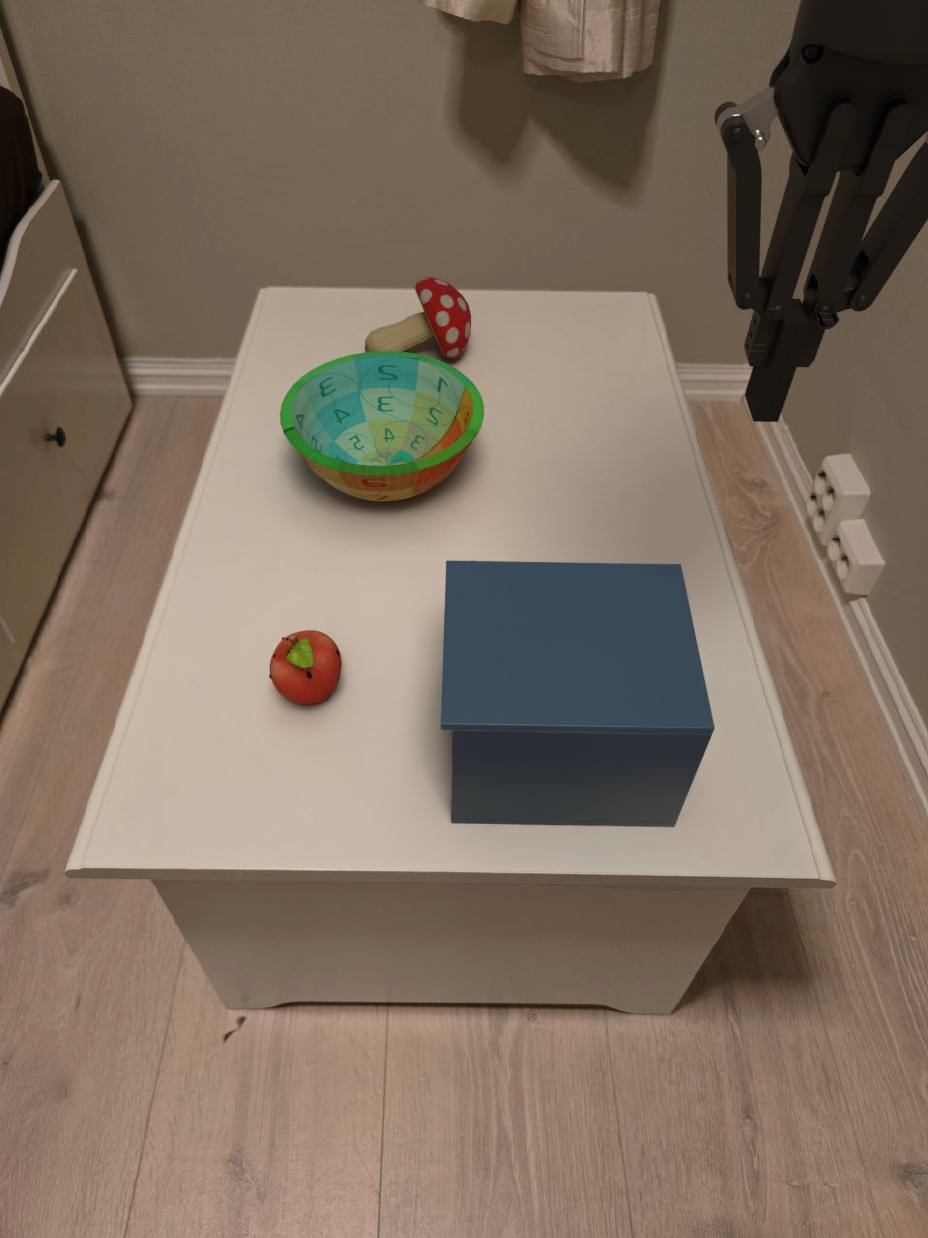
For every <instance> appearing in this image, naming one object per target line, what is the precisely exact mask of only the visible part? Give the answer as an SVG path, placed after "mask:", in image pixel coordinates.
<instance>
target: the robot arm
mask: <svg viewBox="0 0 928 1238" xmlns="http://www.w3.org/2000/svg"><path fill="white" fill-rule="evenodd" d="M776 117H778V119H779V122H780V125H781V126H782V130H783V131H784V135H785V136H786V139H787V142H788V144H789V147H790V149H791V151H792V152H791V155H790V159H789V164H788V178H787V181H786V185H785V189H784V192H783V196H782V199H781V201H780V202H781V203H780V206H779V210H778V214H777V217H776V220H775V223H774V226H773V230H772V234H771V238H770V241H769V245H768V248H767V250H766V251H767V252H766V254H765V259H764V261H763V265H762V269H761V273H760V268H761V267H760V265H761V264H760V263H761V262H760V261H761V229H762V228H761V227H762V226H761V225H762V187H763V186H762V185H763V183H762V182H763V176H762V164H761V158H760V155H759V152H760V151H763V150H764V149H765V148H766V146H767V144H768V143H769V141H770V137H771V130H770V128H771V124H772V123H773V120H774V119H775V118H776ZM713 118H714V124H715V126H716V128H717V131H718V133H719V136H720V138H721V142H722V143H723V147H724V148H725V151H726V187H727V188H726V205H727V206H726V210H727V211H726V216H727V217H726V220H727V221H726V225H727V227H726V228H727V231H726V232H727V233H726V237H727V242H726V243H727V244H726V245H727V247H726V249H727V251H726V252H727V259H726V260H727V261H726V262H727V283H728V286H729V288H730V289H729V290H730V291H731V294H732V297H733V299H734V303H735V305H736V307H737V308H738V309H739V310H742V311H748V310H753V312H752V316H751V320H750V323H749V325H748V328H747V329H748V330H747V333H746V337H745V341H744V343H743V347H744V354H745V357H746V359H747V363H748V366H749V367H750V368H751V372H750V375H749V378H748V382H747V386H746V389H745V392H744V397H745V401H746V404H747V406H748V410H749V412H750V415H751V419H752V422H755V423H756V422H759V423H762V422H763V423H779V421H780V417H781V415H782V412H783V409H784V405H785V403H786V400H787V397H788V394H789V391H790V388H791V385H792V383H793V379H794V377H795V374H796V371H797V368H810V366H811V365H812V364H813V363H814V361H815V360H816V357H817V354H818V351H819V350H820V349H819V348H820V346H821V344H822V340H823V338H824V336H825V333H826V330H830V329H832V328H834V327H836V325H838V323H839V321H840V318H839V316H838V315H839V314H838V313H841V312H843V311H847V310H852V311H854V312H858V313H859V312H863V311H867V309H869V308H870V307H871V306H872V305H873V303H874V302H875V300H876V299H877V297H878V296H879V294H880V293H881V291H882V290H883V288H884V287H885V285H886V283H887V282H888V280H889V279H890V278H891V276H892V274H893V273H894V271H895V270H896V269H897V267H898V265H899V264H900V262H901V261H902V259H903V258H904V256H905V255H906V253H907V252H908V250H909V249H910V247H911V246H912V244H913V242H914V241H915V240H916V238H917V237H918V236H919V234H920V232H921V231H922V229H923V228H924V226H925V224H926V223H927V221H928V0H800V1H799V5H798V9H797V14H796V17H795V21H794V25H793V30H792V35H791V39H790V42H789V46H788V47H787V50H786V51H785V53H784V55H783V57H781V59H780V60H779V62H778V64H777V65H776V66H775V67H774V69H773V71H772V73H771V75H770V78H769V83H768V87H766V88H765V89H763V90H761V91H759V92H758V93H756V94H754V95H753V96H752V97H750V98H748V99H746V100H744V101H743V102H742V103H739V104H737V103H735V102H734V101H726V102H724V103H721V104H720V105H719V106H718V107H717V108H716V110H715V112H714V116H713ZM924 135H925V140H924V141H923V143H922V144H921V146H920V147H919V148H918V149H917V151H916V152H915V153H914V155H913V157H912V159H911V160H910V161H909V163H908V164H907V166H906V168H905V170H904V171H903V173H902V174H901V176H900V177H899V179H898V181H897V182H896V184H895V185H894V187H893V189H892V191H891V192H890V194H889V196H888V197H887V199H886V201H885V202H884V203H883V205H882V207H881V209H880V210H879V211H878V213H877V215H876V217H875V218H874V220H873V222H872V223H871V225H870V227H869V229H868V230H867V226H868V225H869V223H870V219H871V217H872V216H871V215H872V213H873V211H874V208H875V205H876V202H877V200H878V198H880V197H882V196H883V194H884V192H885V190H886V188H887V184H888V182H889V179H890V177H891V173H892V171H893V169H894V166H895V163H896V162H897V160H898V159H900V157H902V156H903V155H904V154H905V153H906V152H907V151H908V150H909V149H911V147H912V146H913V145H915V144H916V143H917V142H918V141H919V140H920V139H921V138H922V137H923V136H924ZM838 172H839V175H838V181H837V182H836V185H835V189H834V192H833V195H832V199H831V202H830V205H829V208H828V211H827V214H826V217H825V221H824V223H823V226H822V230H821V232H820V236H819V239H818V242H817V245H816V248H815V251H814V254H813V257H812V260H811V263H810V267H809V269H808V273H807V276H806V279H805V282H804V285H803V288H802V294H803V296H804V297H803V299H802V300H801V299H800V298H793V297H794V295H795V291H796V288H797V285H798V283H799V279H800V276H801V274H802V270H803V266H804V263H805V261H806V257H807V253H808V251H809V247H810V244H811V242H812V238H813V235H814V232H815V229H816V227H817V226H816V225H817V223H818V220H819V217H820V213H821V211H822V208H823V204H824V201H825V199H826V197H828V196H829V195H830V194H831V192H832V189H833V185H834V183H835V180H836V177H837V174H838ZM866 230H867V232H866ZM865 232H866V233H865Z"/></svg>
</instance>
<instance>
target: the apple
mask: <svg viewBox="0 0 928 1238" xmlns="http://www.w3.org/2000/svg"><path fill="white" fill-rule="evenodd" d="M341 654H342V653H341V651H340V649H339V646H338V645H337V643H336V642H335V641H334V639H333V638H332V637H330V636H329V635H328V634H326V632H322V631H320V630H315V629H305V630H301V631H296V632H293V633H290V634H288V635H286V636H283V637H281V640H280V642H279V643H278V644H277V645H276V647H275V649H274V651H273V652H272V655H271V658H270V660H269V661H270V662H269V675H268V676H269V679H270V680H271V682H272V684H273V686H274V688H275V689H276V691H277V692H278V693H280V694H281V695H282V696H284V697H285V698H286V699H287V700H289V701H290V702H292V703H294V704H296V705H298V706H299V705H300V706H306V705H307V706H308V705H313V704H317V703H321V702H325V701H327V700H329V698H330V696H331V695H332V694H333V692H334V690H335V689H336V687H337V685H338V683H339V680H340V677H341V674H342V667H343V666H342V665H343V663H342V661H343V660H342V655H341Z"/></svg>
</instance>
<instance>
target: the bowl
mask: <svg viewBox="0 0 928 1238" xmlns="http://www.w3.org/2000/svg"><path fill="white" fill-rule="evenodd" d="M484 417H485V404H484V400H483V398H482V394H481V393H480V391H479V389H478V387H477V386H476V385H475V384H474V383H473V381H472V380H471V379H470V378H469V377H468V376H466V375H465V374H464V373H463V372H462V371H460V370H459V369H457V368H455V367H454V366H452V365H450V364H449V363H446V362H444V361H442V360H439V359H437V358H433V357H431V356H426V355H424V354H420V353H419V354H418V353H413V352H407V351H404V352H397V351H376V352H366V351H363V352H359V353H352V354H349V355H344V356H341V357H337V358H335V359H332V360H329V361H327V362H324V363H322V364H319V365H318V366H316V367H314V368H312V369H311V370H309V371H308V372H307V373H305V374H304V375H302V376H301V377H300V378H299V379H297V380H296V382H295V383H293V384H292V385H291V387H290V388H289V389H288V391H287V392H286V393H285V396H284V398H283V400H282V402H281V406H280V411H279V420H280V422H279V423H280V426H281V430H282V432H283V434H284V436H285V438H286V440H287V441H288V442H289V444H290V446H292V447H293V448H294V449H295V450H296V452H297V453H298V455H299V456H300V457H301V458H302V460H304V461H305V462H306V463H307V464H308V466H309V467H310V468H311V470H313V471H314V473H315V474H316V475H317V476H318V477H320V478H321V479H322V480H323V481H325V482H326V483H327V484H329V485H330V486H331V487H333V488H335V489H336V490H338V491H340V492H342V493H344V494H347V495H349V496H352V497H354V498H357V499H361V500H366V501H373V502H395V501H401V500H406V499H410V498H413V497H416V496H419V495H421V494H423V493H425V492H427V491H429V490H431V489H432V488H433V487H435V486H436V485H438V484H440V483H441V482H442V481H443V480H444V479H446V478H447V477H448V475H450V473H451V472H453V470H454V469H455V468H456V467H457V465H458V464H459V463H460V462H461V460H462V458H463V456H464V454H465V453H466V452H467V451H468V450H469V448H470V446H471V445H472V443H473V441H474V440H475V438H476V437H477V436H478V434H479V432H480V430H481V428H482V425H483V423H484Z"/></svg>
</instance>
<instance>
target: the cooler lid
mask: <svg viewBox="0 0 928 1238" xmlns="http://www.w3.org/2000/svg"><path fill="white" fill-rule="evenodd" d="M444 587H445V588H444V611H443V612H444V614H443V615H444V616H443V617H444V618H443V642H442V643H443V645H442V646H443V647H442V676H441V704H440V705H441V706H440V707H441V708H440V729H441V731H452V730H491V731H555V732H618V733H682V734H712V735H713V734H714V731H715V728H716V727H715V722H714V718H713V713H712V707H711V703H710V699H709V693H708V689H707V684H706V680H705V674H704V670H703V669H704V668H703V664H702V660H701V654H700V651H699V650H700V649H699V645H698V639H697V636H696V629H695V626H694V620H693V616H692V612H691V611H692V610H691V607H690V601H689V597H688V592H687V586H686V581H685V577H684V572H683V566H682V564H681V563H676V564H675V563H629V562H626V563H625V562H620V563H619V562H567V561H566V562H563V561H562V562H561V561H560V562H559V561H509V560H507V561H506V560H505V561H504V560H503V561H502V560H499V561H498V560H448V559H447V560H446V561H445V585H444Z"/></svg>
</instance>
